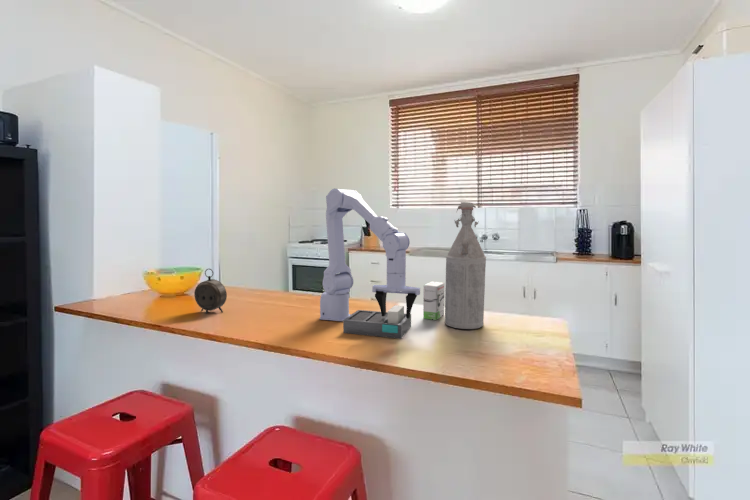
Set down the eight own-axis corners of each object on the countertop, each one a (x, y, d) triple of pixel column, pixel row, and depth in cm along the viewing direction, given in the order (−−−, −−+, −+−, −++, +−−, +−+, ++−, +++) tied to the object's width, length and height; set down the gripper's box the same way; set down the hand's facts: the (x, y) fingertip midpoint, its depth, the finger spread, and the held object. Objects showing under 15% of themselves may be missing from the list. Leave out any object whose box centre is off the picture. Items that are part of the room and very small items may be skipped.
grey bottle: (442, 330, 121) (444, 201, 117) (446, 315, 138) (448, 202, 134) (484, 333, 118) (488, 200, 114) (484, 318, 134) (487, 202, 131)
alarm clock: (228, 311, 144) (226, 268, 142) (219, 315, 139) (217, 270, 137) (202, 310, 147) (200, 267, 145) (192, 313, 141) (190, 269, 140)
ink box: (436, 320, 132) (436, 286, 131) (422, 318, 134) (423, 284, 133) (444, 314, 139) (445, 282, 138) (431, 313, 142) (431, 280, 141)
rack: (342, 333, 118) (342, 320, 118) (358, 321, 131) (358, 309, 130) (400, 339, 112) (401, 325, 112) (411, 326, 125) (411, 314, 125)
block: (387, 330, 117) (387, 311, 116) (394, 323, 124) (394, 305, 124) (397, 331, 116) (397, 312, 115) (403, 324, 123) (404, 305, 123)
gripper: (369, 273, 117) (369, 317, 118) (417, 275, 112) (416, 322, 113) (376, 270, 123) (376, 312, 125) (421, 272, 119) (421, 315, 120)
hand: (395, 316), depth 119 cm, fingers open, 7 cm apart
